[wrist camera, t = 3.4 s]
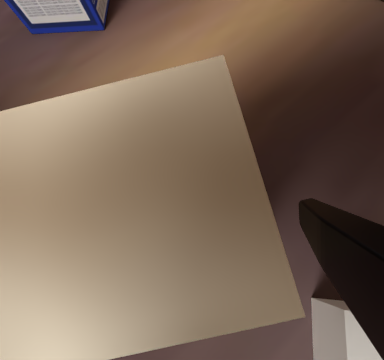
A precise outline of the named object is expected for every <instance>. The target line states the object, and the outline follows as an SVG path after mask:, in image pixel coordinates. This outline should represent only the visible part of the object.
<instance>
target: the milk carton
mask: <svg viewBox="0 0 384 360" xmlns="http://www.w3.org/2000/svg"><path fill="white" fill-rule="evenodd" d="M4 1H5V2H6V3H7V4H8V5H9V7H10V8H11V9H12V10H13V11H14V13H15V14H16V15H17V16H18V18H19V19H20V20H21V21H22V22H23V24H24V25H25V26H26V27H27V28H28V30H29V31H30V32H31V33H32V34H41V33H60V32H78V31H97V30H104V29H105V23H106V17H107V11H108V5H109V0H4Z"/></svg>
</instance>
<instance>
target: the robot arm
mask: <svg viewBox="0 0 384 360" xmlns="http://www.w3.org/2000/svg"><path fill="white" fill-rule="evenodd" d="M299 220H300V225H301V228H302V230H303V232H304V234H305V236H306V238H307V240H308V242H309V244H310V246H311V248H312V250H313V251H314V253H315V255H316V257H317V259H318V261H319V263H320V265H321V267H322V268H323V270H324V272H325V273H326V275H327V276H328V278H329V279H330V281H331V282H332V284H333V285H334V287H335V288H336V290H337V291H338V293H339V294H340V296H341V297H342V299H343V300H344V302H345V304H346V305H347V307H348V308H349V310H350V311H351V313H352V314H353V316H354V317H355V319H356V320H357V322H358V323H359V325H360V326H361V328H362V329H363V331H364V332H365V334H366V335H367V337H368V338H369V340H370V342H371V343H372V345H373V346H374V348H375V349H376V351H377V352H378V354H379V355H380V357H381V358H382V360H384V226H382V225H380V224H377V223H374V222H372V221H369V220H367V219H364V218H361V217H359V216H356V215H354V214H351V213H349V212H346V211H343V210H341V209H338V208H336V207H333V206H330V205H328V204H325V203H323V202H320V201H318V200H315V199H312V198H310V199H306V200H302V201H300V202H299Z"/></svg>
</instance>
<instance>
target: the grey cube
mask: <svg viewBox="0 0 384 360" xmlns="http://www.w3.org/2000/svg"><path fill="white" fill-rule="evenodd" d="M311 304H312V332H313V359H314V360H382V358H381V357H380V355H379V354H378V352H377V351H376V349H375V348H374V346H373V345H372V343H371V342H370V340H369V338H368V337H367V335H366V334H365V332H364V331H363V329H362V328H361V326H360V325H359V323H358V322H357V320H356V319H355V317H354V316H353V314H352V313H351V311H350V310H349V308H348V307H347V305H346V304H345V302H344V301H340V300H330V299H321V298H311Z"/></svg>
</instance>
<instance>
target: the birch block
mask: <svg viewBox="0 0 384 360" xmlns="http://www.w3.org/2000/svg"><path fill="white" fill-rule="evenodd" d="M303 317H305V314H304V311H303V307H302V304H301V301H300V298H299V294H298V291H297V288H296V285H295V282H294V278H293V275H292V272H291V269H290V266H289V262H288V259H287V256H286V253H285V250H284V246H283V243H282V240H281V237H280V234H279V230H278V227H277V224H276V221H275V218H274V214H273V211H272V208H271V205H270V202H269V198H268V195H267V192H266V189H265V186H264V182H263V179H262V176H261V173H260V170H259V166H258V163H257V160H256V157H255V154H254V150H253V147H252V144H251V141H250V138H249V134H248V131H247V128H246V125H245V122H244V118H243V115H242V112H241V109H240V106H239V102H238V99H237V96H236V93H235V90H234V86H233V83H232V80H231V77H230V74H229V70H228V67H227V64H226V61H225V58H224V55H221V56H217V57H213V58H209V59H205V60H201V61H197V62H193V63H189V64H186V65H182V66H178V67H174V68H170V69H166V70H162V71H158V72H154V73H150V74H146V75H142V76H138V77H134V78H130V79H126V80H122V81H118V82H114V83H110V84H106V85H102V86H98V87H95V88H91V89H87V90H83V91H79V92H75V93H71V94H67V95H63V96H59V97H55V98H51V99H47V100H43V101H39V102H35V103H31V104H27V105H23V106H19V107H15V108H11V109H7V110H3V111H0V360H109V359H114V358H118V357H123V356H128V355H132V354H137V353H142V352H146V351H151V350H155V349H160V348H165V347H169V346H174V345H179V344H183V343H188V342H192V341H197V340H202V339H206V338H211V337H215V336H220V335H225V334H229V333H234V332H239V331H243V330H248V329H252V328H257V327H262V326H266V325H271V324H276V323H280V322H285V321H289V320H294V319H299V318H303Z"/></svg>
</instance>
